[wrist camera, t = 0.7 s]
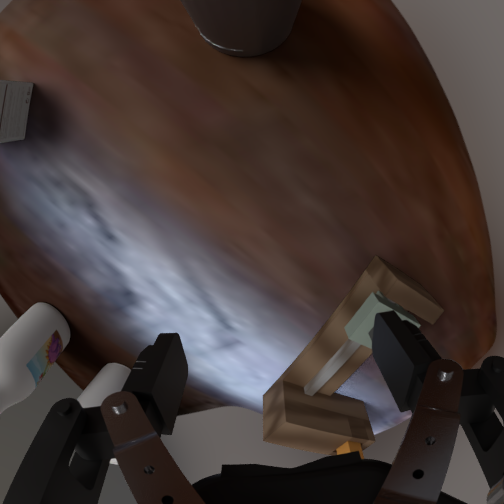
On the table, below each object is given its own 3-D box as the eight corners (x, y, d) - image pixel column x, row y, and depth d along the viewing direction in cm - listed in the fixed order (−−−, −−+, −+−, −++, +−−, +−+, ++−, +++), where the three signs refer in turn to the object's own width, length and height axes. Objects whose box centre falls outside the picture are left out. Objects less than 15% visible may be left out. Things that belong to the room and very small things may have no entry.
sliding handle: (367, 284, 30) (406, 346, 20) (408, 308, 31) (449, 366, 21) (340, 319, 32) (367, 387, 22) (382, 338, 33) (414, 401, 23)
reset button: (345, 432, 33) (351, 457, 29) (357, 434, 34) (364, 459, 30) (334, 441, 34) (339, 465, 30) (346, 443, 34) (352, 467, 30)
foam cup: (156, 401, 40) (135, 469, 28) (106, 394, 40) (78, 454, 28) (140, 357, 36) (108, 431, 24) (86, 351, 37) (46, 413, 25)
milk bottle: (26, 315, 35) (-47, 398, 17) (43, 291, 33) (-45, 381, 15) (60, 351, 37) (-2, 442, 19) (80, 330, 35) (8, 436, 17)
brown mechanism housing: (375, 254, 30) (406, 289, 23) (450, 305, 33) (480, 339, 25) (262, 395, 38) (263, 440, 31) (342, 419, 41) (351, 458, 33)
